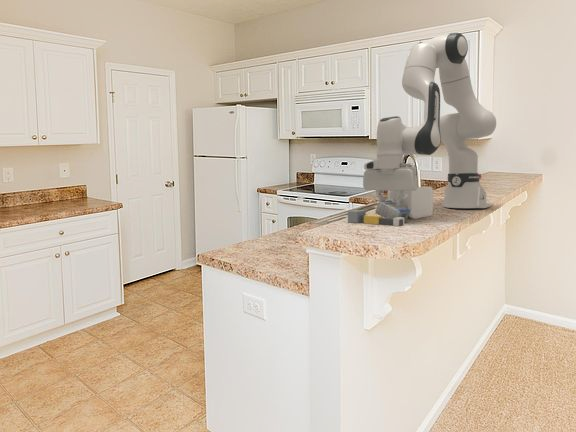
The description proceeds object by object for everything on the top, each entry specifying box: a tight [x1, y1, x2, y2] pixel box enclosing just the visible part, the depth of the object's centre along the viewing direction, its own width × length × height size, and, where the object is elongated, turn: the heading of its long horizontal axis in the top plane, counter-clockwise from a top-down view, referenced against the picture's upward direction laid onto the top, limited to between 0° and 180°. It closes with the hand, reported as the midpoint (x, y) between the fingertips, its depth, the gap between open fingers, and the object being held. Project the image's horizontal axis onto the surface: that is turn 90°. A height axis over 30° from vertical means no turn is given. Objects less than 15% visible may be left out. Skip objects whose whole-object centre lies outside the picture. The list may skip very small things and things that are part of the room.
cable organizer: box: [387, 186, 434, 220], centre depth 173 cm, size 15×11×12 cm
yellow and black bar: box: [359, 214, 405, 227], centre depth 155 cm, size 4×16×3 cm, turn 44°
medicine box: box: [374, 200, 410, 222], centre depth 161 cm, size 8×4×9 cm
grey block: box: [347, 209, 367, 224], centre depth 162 cm, size 5×5×4 cm
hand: (389, 203), depth 162 cm, fingers closed on medicine box, 5 cm apart
